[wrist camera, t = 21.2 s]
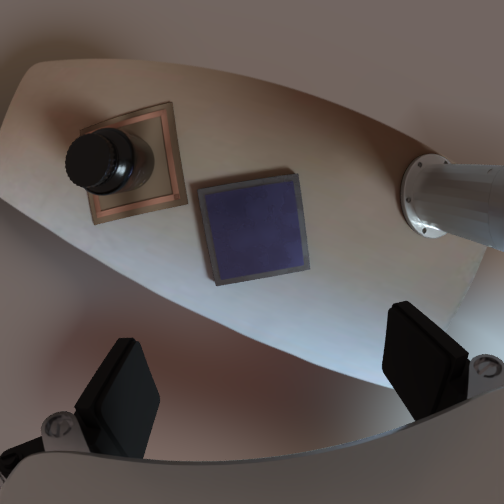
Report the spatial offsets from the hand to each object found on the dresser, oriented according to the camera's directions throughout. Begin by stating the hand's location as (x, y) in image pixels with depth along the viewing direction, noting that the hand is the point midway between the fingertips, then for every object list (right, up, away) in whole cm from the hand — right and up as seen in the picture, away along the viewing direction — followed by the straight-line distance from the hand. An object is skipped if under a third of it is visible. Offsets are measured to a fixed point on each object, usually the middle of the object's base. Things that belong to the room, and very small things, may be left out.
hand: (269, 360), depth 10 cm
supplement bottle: (-16, +15, +22) cm, 31 cm away
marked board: (-16, +15, +22) cm, 31 cm away
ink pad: (0, +7, +26) cm, 27 cm away
